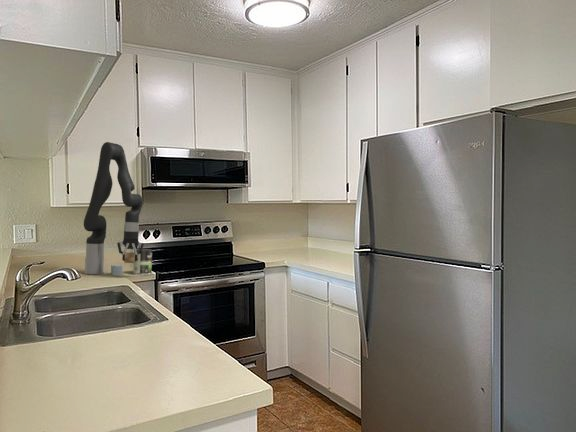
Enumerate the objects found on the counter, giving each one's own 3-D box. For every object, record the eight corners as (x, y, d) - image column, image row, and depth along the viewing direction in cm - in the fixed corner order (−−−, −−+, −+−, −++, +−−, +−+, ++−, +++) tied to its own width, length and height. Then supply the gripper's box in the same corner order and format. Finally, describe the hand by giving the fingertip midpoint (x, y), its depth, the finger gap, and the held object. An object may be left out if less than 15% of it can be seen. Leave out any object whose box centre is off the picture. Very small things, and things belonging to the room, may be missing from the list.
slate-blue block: (112, 275, 241) (112, 266, 241) (111, 273, 246) (111, 265, 245) (122, 274, 244) (122, 265, 244) (120, 273, 248) (120, 264, 248)
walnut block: (124, 262, 232) (124, 253, 231) (125, 261, 236) (125, 252, 236) (134, 263, 233) (134, 253, 233) (134, 261, 238) (135, 252, 238)
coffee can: (154, 272, 254) (154, 249, 254) (148, 275, 244) (148, 250, 244) (136, 272, 254) (137, 248, 254) (130, 274, 244) (130, 250, 244)
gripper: (116, 230, 229) (115, 262, 229) (145, 231, 233) (143, 262, 233) (117, 229, 236) (116, 260, 236) (145, 230, 240) (143, 260, 240)
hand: (129, 261), depth 235 cm, fingers closed on walnut block, 5 cm apart
